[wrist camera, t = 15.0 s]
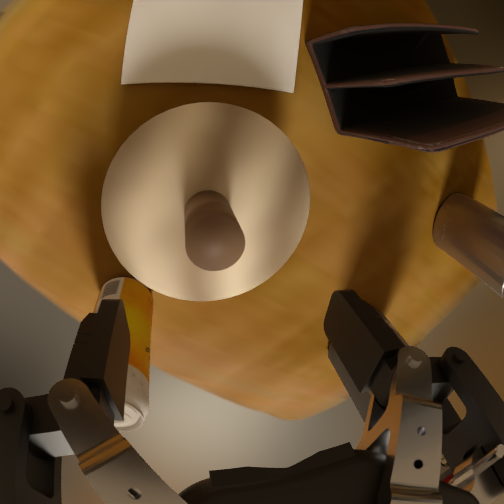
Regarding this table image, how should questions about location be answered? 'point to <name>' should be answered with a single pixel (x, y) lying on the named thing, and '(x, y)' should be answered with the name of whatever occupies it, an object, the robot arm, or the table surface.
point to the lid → (205, 201)
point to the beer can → (133, 346)
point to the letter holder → (401, 86)
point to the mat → (214, 42)
